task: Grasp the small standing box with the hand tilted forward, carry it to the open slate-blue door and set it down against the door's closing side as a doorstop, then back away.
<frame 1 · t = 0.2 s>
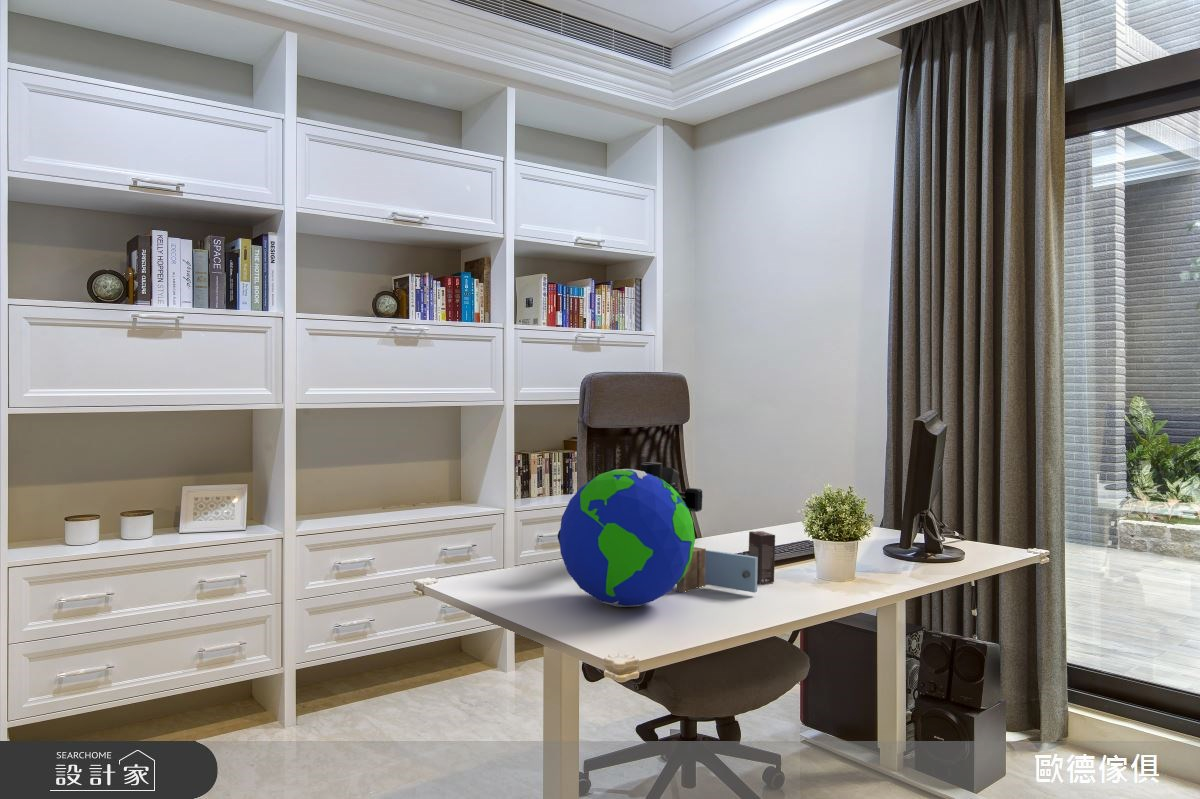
hand: (688, 494, 239), 17 cm above the table, tool horizontal, fingers open, 9 cm apart
door: (729, 571, 193), point 5 cm above the table, hinge at -88.0°
doorframe: (696, 586, 199), on the table
box: (761, 581, 205), on the table
globe: (625, 606, 181), on the table
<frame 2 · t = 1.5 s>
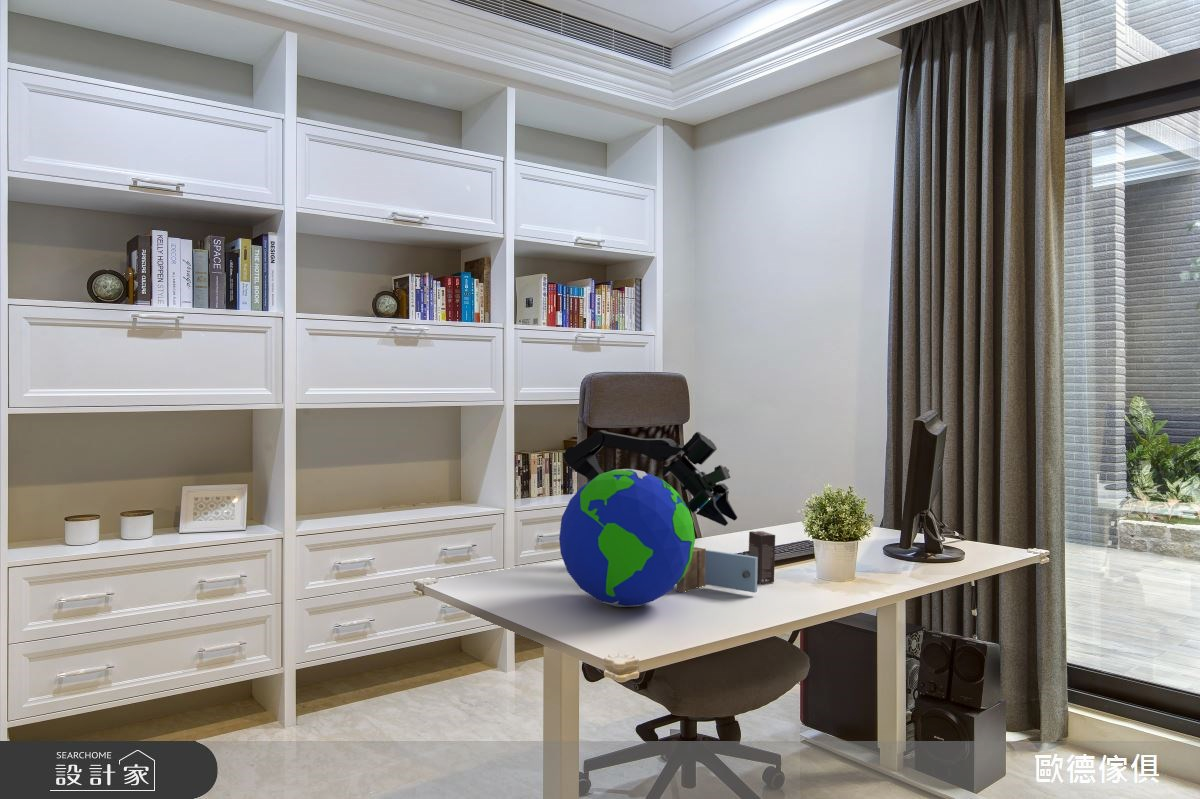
hand: (731, 522, 209), 14 cm above the table, tool tilted 45°, fingers open, 9 cm apart
nothing on the table moved.
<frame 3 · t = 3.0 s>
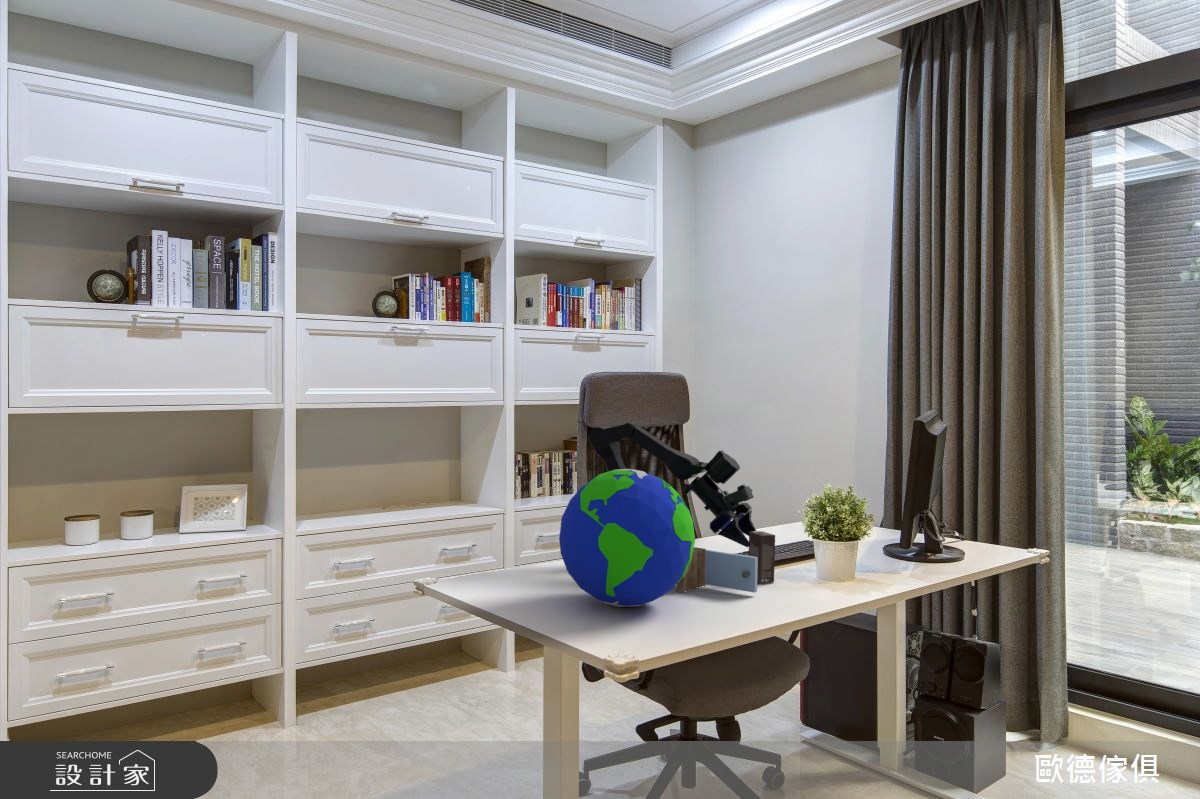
hand: (754, 542, 206), 9 cm above the table, tool tilted 45°, fingers open, 9 cm apart
nothing on the table moved.
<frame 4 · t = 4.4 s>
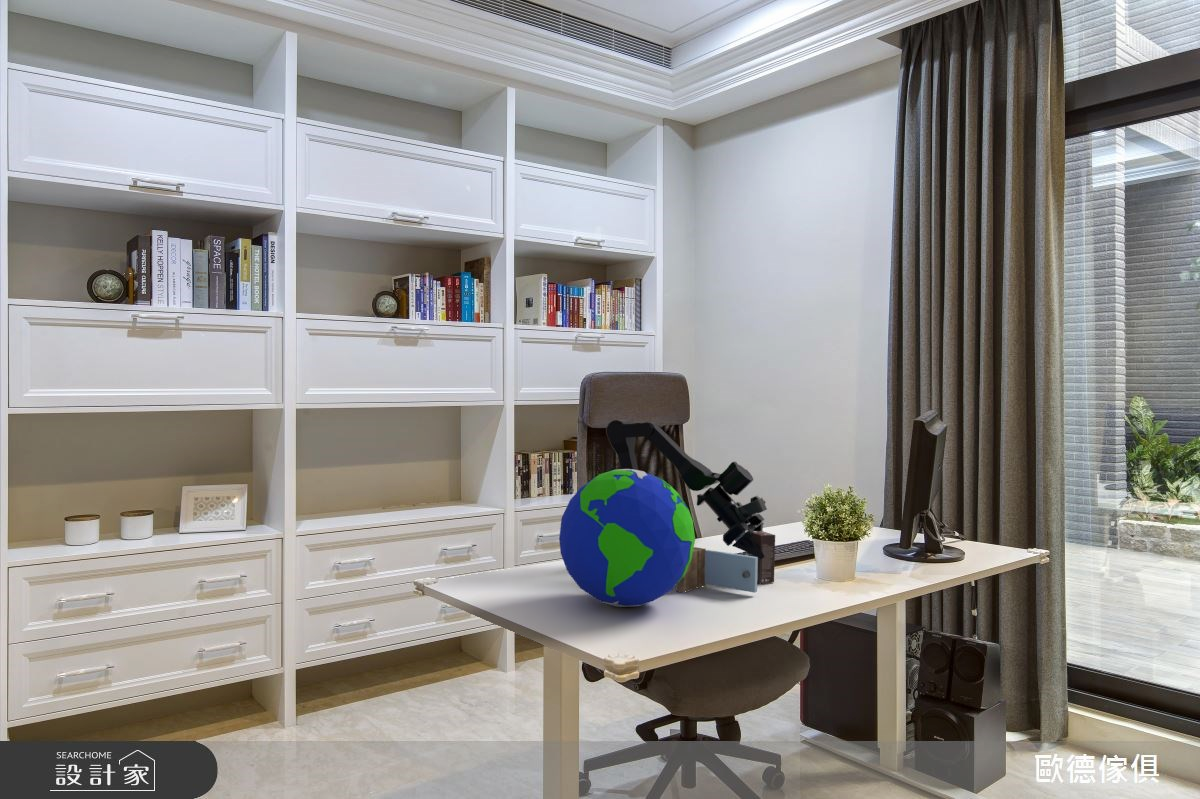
hand: (767, 555, 204), 7 cm above the table, tool tilted 45°, fingers closed on box, 7 cm apart
box: (761, 581, 205), on the table, touching gripper
everything else where it was.
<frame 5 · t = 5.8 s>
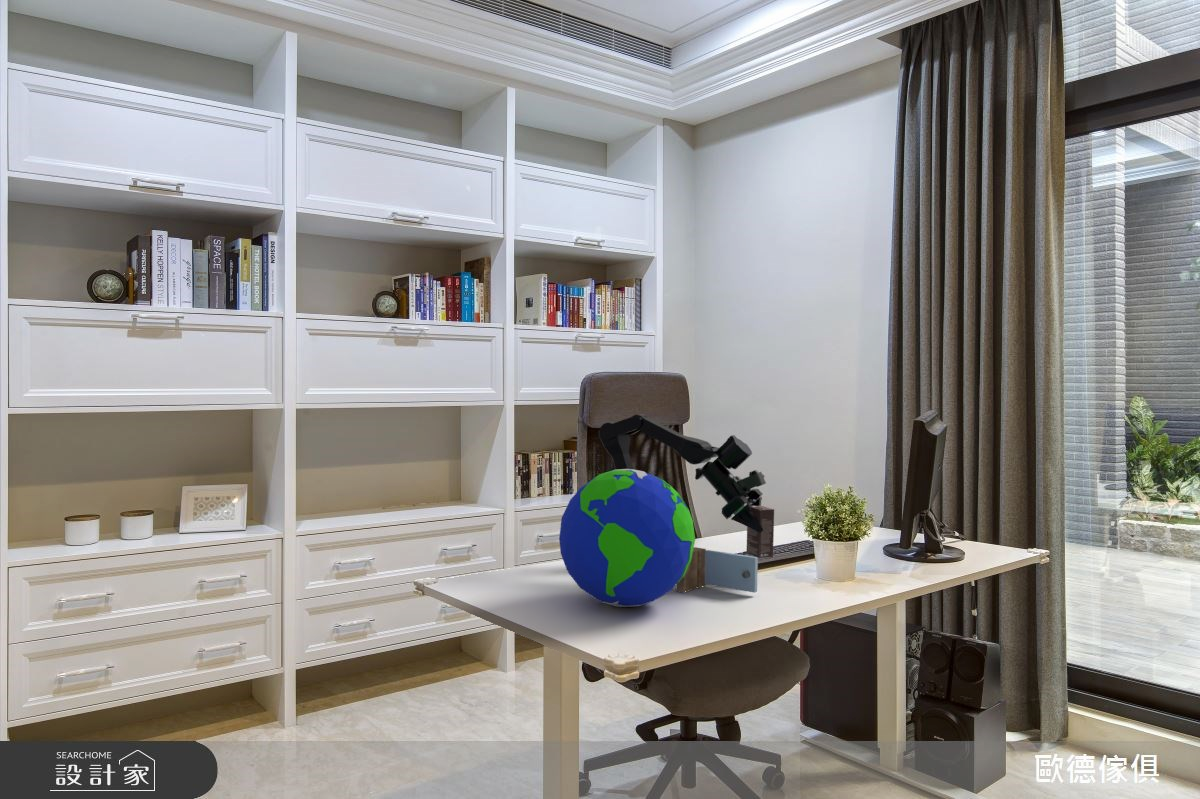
hand: (765, 529, 203), 13 cm above the table, tool tilted 45°, fingers closed on box, 7 cm apart
box: (759, 556, 204), point 6 cm above the table, touching gripper
everything else where it was.
when the fingers open (8 cm above the table, at t = 7.6 s): box drops 1 cm, on the table.
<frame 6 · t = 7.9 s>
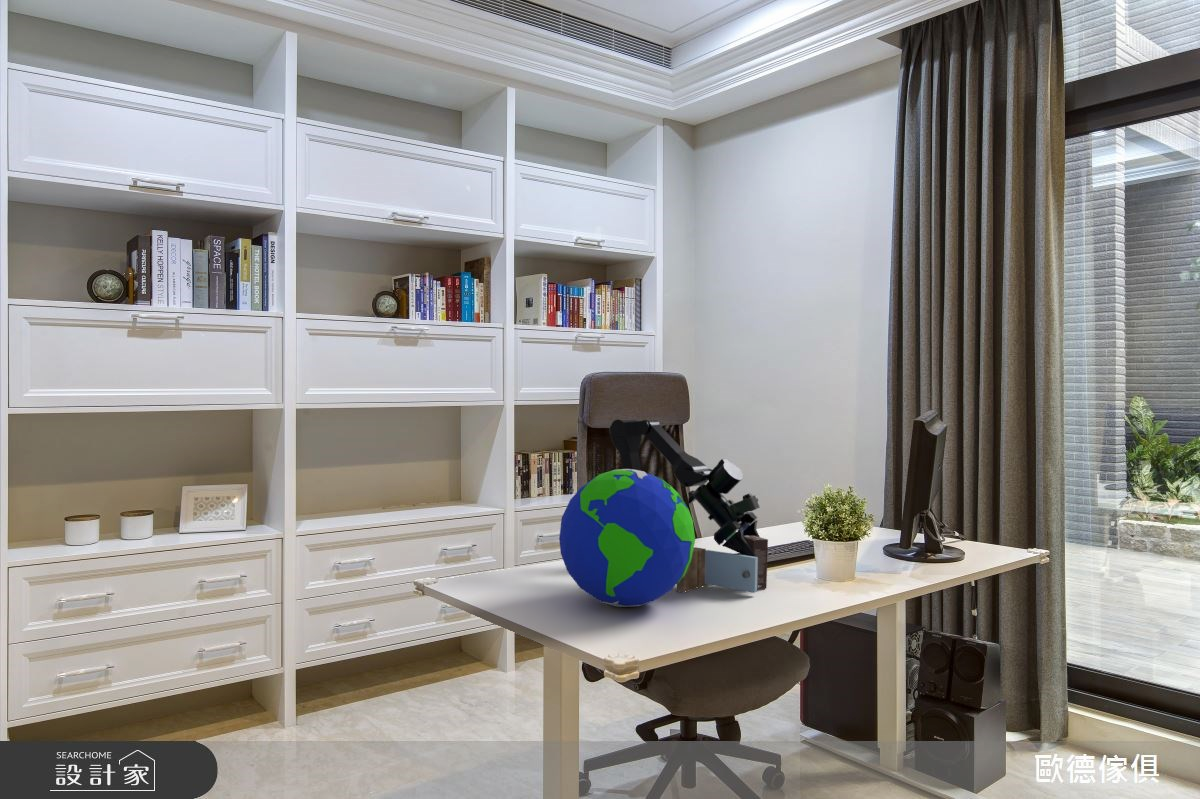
hand: (759, 554, 198), 8 cm above the table, tool tilted 45°, fingers open, 9 cm apart
box: (752, 587, 199), on the table
everything else where it was.
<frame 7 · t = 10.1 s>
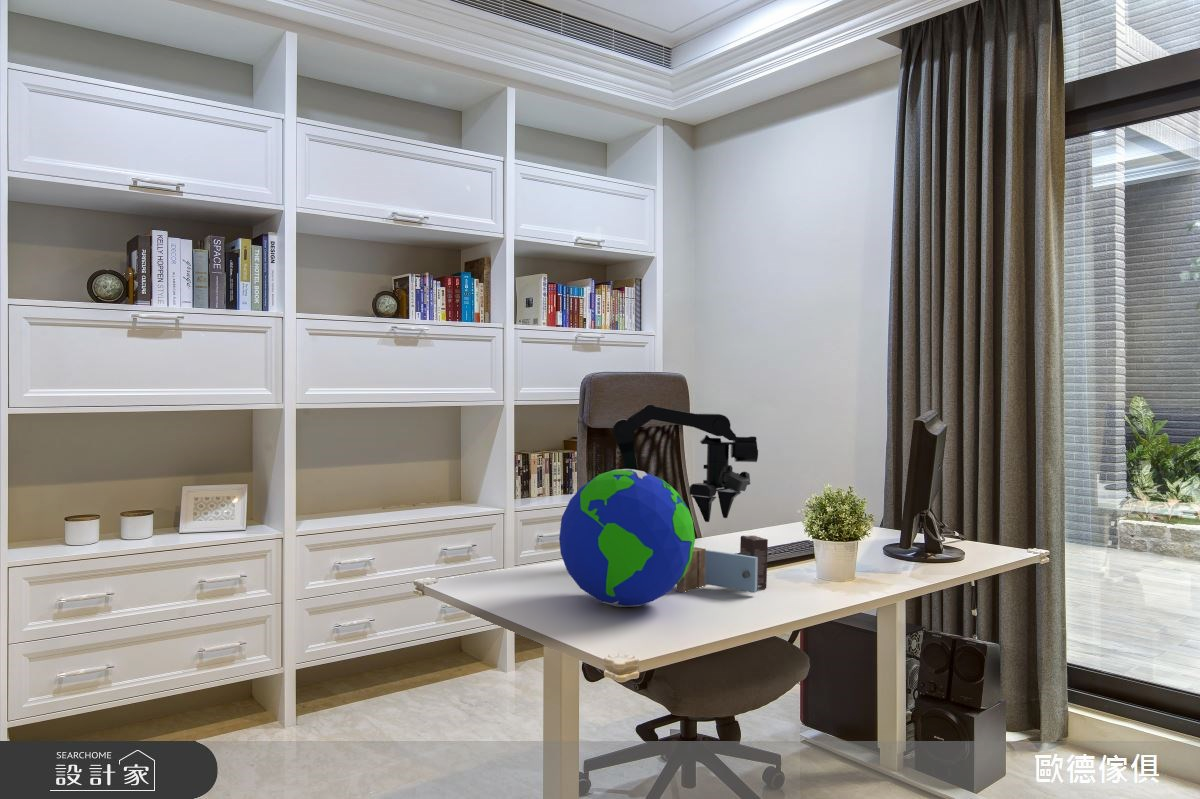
hand: (716, 519, 219), 13 cm above the table, tool pointing down, fingers open, 9 cm apart
nothing on the table moved.
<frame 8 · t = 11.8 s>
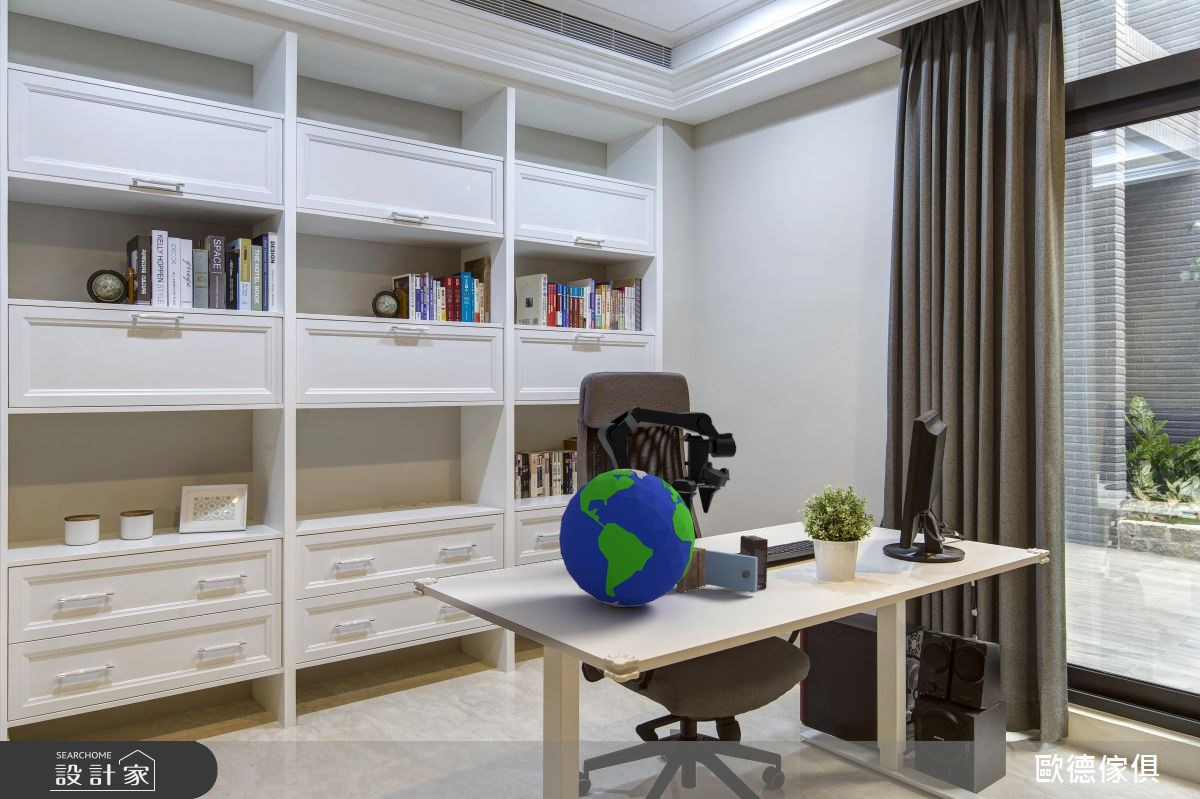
hand: (697, 514, 225), 13 cm above the table, tool pointing down, fingers open, 9 cm apart
nothing on the table moved.
at the end: box inside the target area (0.4 cm from its centre), on the table; box tilted 0°; door at -88° (first picture: -88°) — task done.
